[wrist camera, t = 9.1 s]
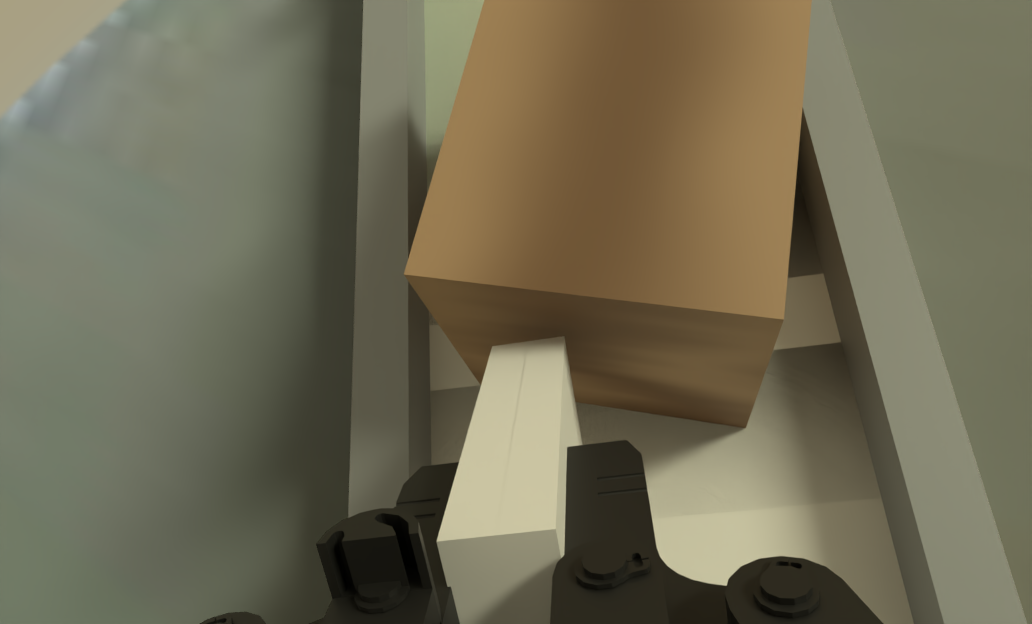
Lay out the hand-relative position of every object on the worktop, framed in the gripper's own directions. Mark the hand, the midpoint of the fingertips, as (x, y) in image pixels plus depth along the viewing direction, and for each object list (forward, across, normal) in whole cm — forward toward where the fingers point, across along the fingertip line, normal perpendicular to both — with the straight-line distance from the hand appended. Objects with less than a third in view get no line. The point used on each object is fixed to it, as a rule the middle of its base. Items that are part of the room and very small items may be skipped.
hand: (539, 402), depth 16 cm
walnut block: (+7, +3, +1) cm, 8 cm away
